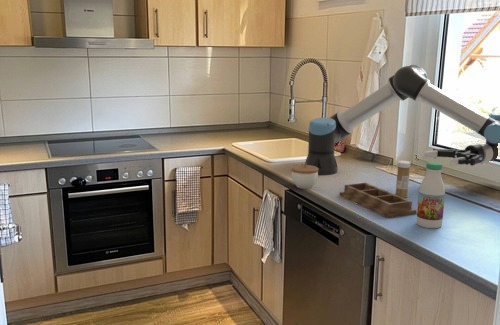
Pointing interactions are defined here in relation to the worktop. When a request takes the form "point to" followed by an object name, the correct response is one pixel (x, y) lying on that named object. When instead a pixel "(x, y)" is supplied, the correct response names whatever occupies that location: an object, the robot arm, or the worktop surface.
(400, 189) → the spice bottle
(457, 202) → the worktop surface
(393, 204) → the wooden compartment tray
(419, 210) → the milk bottle
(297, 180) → the lidded jar
